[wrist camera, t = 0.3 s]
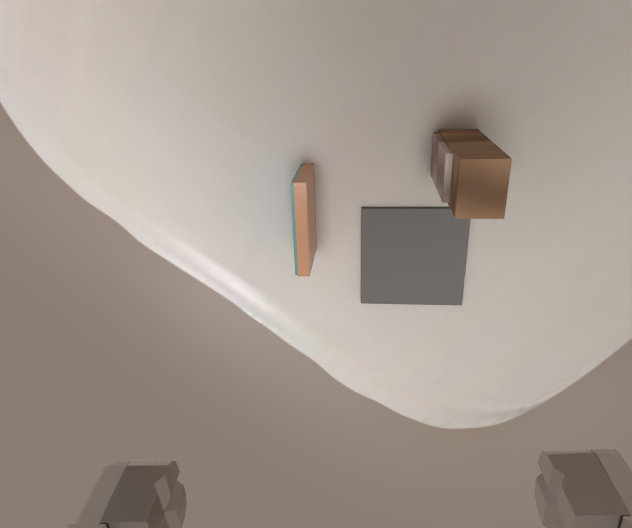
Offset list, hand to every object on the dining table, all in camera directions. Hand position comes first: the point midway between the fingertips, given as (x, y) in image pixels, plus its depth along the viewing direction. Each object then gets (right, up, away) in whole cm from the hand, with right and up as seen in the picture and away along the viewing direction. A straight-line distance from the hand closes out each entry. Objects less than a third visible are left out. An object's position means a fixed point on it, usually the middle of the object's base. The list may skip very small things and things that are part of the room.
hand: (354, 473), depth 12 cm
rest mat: (+10, +6, +48) cm, 50 cm away
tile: (-2, +11, +47) cm, 49 cm away
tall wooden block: (+14, +17, +43) cm, 48 cm away
